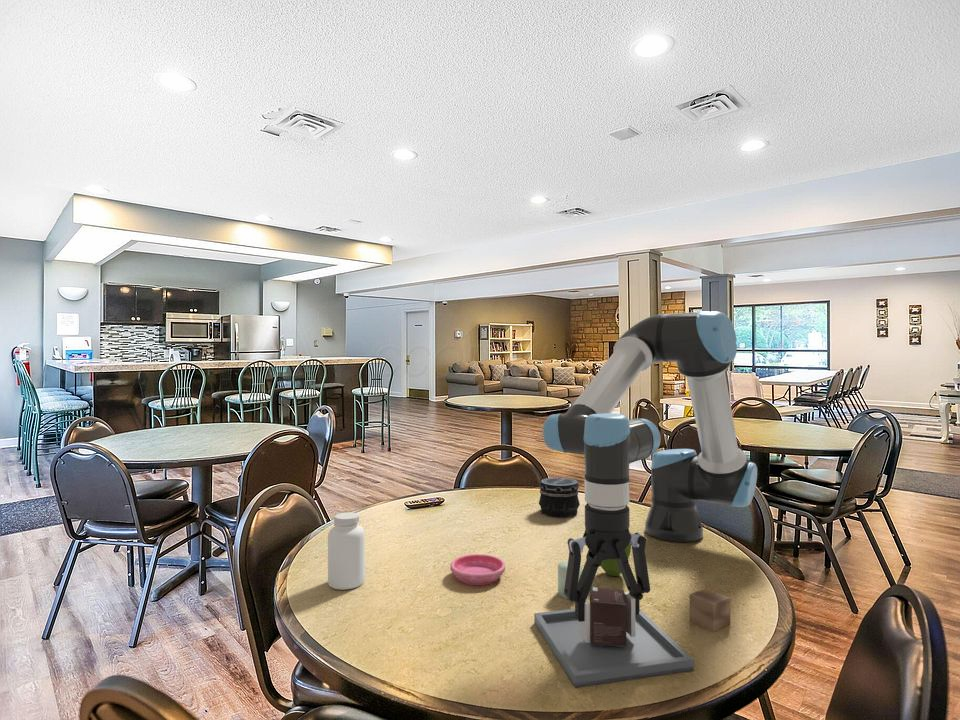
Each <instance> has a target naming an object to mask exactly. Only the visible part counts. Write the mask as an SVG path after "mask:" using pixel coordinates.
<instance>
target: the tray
mask: <svg viewBox="0 0 960 720" xmlns="http://www.w3.org/2000/svg"><path fill="white" fill-rule="evenodd" d="M533 618H534V624H535V626H536V628H537V630H538V631H539V632H540V634H541V636H542V638H543V639H544V640H546V641H545V642H546V644H547V645H548V647H549V649H550V648H551V649H550V650H551V652H552V653H553V654H554V655H553V656H555V658H556V660H557V661H558V662H559V665H560V667H562V669H563V671H564V672H565V674H566V676H567V677H568V679H569V680H570V682H571V684H572V685H573V687H574V688H582V687H589V686H596V685H603V684H611V683H616V682H622V681H630V680H636V679H638V680H639V679H644V678H651V677H658V676H665V675H672V674H677V673H686V672H693V671H694V669H695V666H694V661H695V659H694V658H693V657H692V656H691V655H690V654H689V653H688V652H687V651H686V650H685V649H683V648H682V647H681V646H680V645H679V643H677V642H676V641H675V640H673V638H672V637H670V636H669V635H668V633H666V632H665V631H664V630H663V629H662V628H660V626H659V625H658V624H656V623H655V622H654V621H653V620H652V618H650V617H649V616H648V615H647V614H646V613H644V612H643V611H642V609H640V612H639V615H635V637H631V636H630V635H629V634H628V633H627V632H626V647H623V646H612V645H599V644H591V642H589V643H586V642H585V641H584V639H583V638H582V637H581V635H580V622H579V621H578V620H577V618H576V616H575V608H570V609H562V610H561V609H560V610H552V611H543V612H542V611H541V612H534V617H533Z"/></svg>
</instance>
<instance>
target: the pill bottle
mask: <svg viewBox="0 0 960 720" xmlns="http://www.w3.org/2000/svg"><path fill="white" fill-rule="evenodd" d="M359 522H360V515H359V513H356V512H346V511H345V512H340V513H338V514H335V515H334V517H333V527H332V528H331V529H329V531H328V533H327V583H328V585H329V587H330V588H331V589H334V590H342V591H343V590H351V589H355V588H357V587H361V586H362V585H363V584H364V582H365V579H366V543H365V542H366V538H365V537H366V536H365V535H366V534H365V533H366V532H365V529H364V528H363V526H361V525H359Z"/></svg>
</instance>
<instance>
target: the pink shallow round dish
mask: <svg viewBox="0 0 960 720" xmlns="http://www.w3.org/2000/svg"><path fill="white" fill-rule="evenodd" d="M449 567H450V571H451V573H452V574H453V576H455V577H456V579H457V580H458V581H459V582H461V583H463V584H465V585H471V586H484V585H485V586H487V585H490V584H493V583H495V582H497V581H498V579H499V578H500V577H501V576H502V575H503V573H504V572H505V571H506V563H505V561H504V560H503V559H502V558H499V557H498V556H495V555H489V554H483V553H482V554H481V553H473V554H466V555H461V556H459V557H456V558H454V559H453V560H452V561H451V563H450V566H449Z"/></svg>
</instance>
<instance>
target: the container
mask: <svg viewBox="0 0 960 720" xmlns="http://www.w3.org/2000/svg"><path fill="white" fill-rule="evenodd" d="M538 487H539V488H540V489H539V493H540V497H539V501H538V504H539V506H540V510H541V511H540V512H541V513H542V514H544V515H545V516H547V517H553V518H567V517H568V518H569V517H574V516H576V515H577V514H578V509H579V507H580V506H581V505H580V500H579V488H580V484H579V483H578V481H577V480H576V479H573V478H569V477H548V478H543V479H542V480H541V481H540V483H539V485H538Z"/></svg>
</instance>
